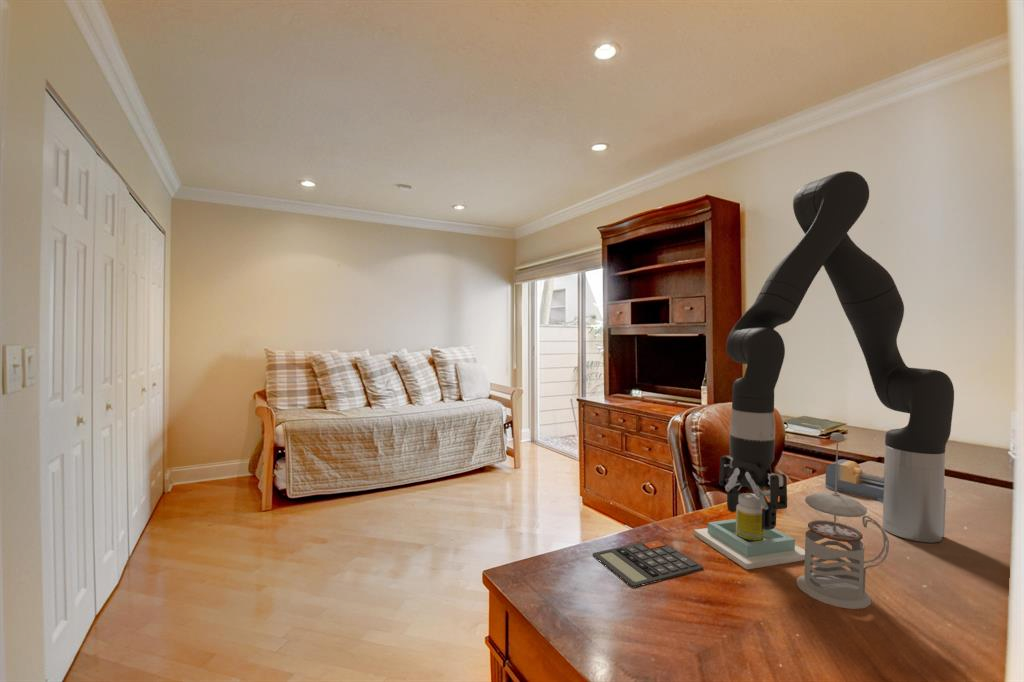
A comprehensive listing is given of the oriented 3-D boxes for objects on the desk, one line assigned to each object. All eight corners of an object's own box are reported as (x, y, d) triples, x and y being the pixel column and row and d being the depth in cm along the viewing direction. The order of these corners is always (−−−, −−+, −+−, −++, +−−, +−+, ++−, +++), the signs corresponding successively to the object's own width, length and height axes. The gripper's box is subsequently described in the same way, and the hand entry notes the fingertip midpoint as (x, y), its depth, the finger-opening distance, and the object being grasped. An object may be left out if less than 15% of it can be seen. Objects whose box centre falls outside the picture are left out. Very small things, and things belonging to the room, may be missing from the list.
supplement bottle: (767, 547, 87) (768, 502, 87) (739, 545, 88) (740, 500, 88) (758, 535, 92) (759, 492, 91) (732, 533, 93) (733, 491, 92)
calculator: (704, 565, 81) (632, 584, 75) (704, 571, 81) (632, 590, 75) (657, 537, 92) (591, 552, 86) (657, 542, 92) (591, 557, 86)
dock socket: (751, 526, 98) (751, 512, 98) (811, 558, 85) (811, 542, 85) (693, 534, 95) (693, 519, 94) (746, 569, 81) (747, 552, 81)
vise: (822, 488, 122) (823, 463, 122) (837, 481, 129) (838, 456, 128) (911, 510, 108) (912, 481, 108) (923, 500, 114) (924, 473, 114)
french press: (793, 568, 82) (797, 423, 81) (876, 585, 77) (882, 430, 76) (800, 598, 73) (804, 435, 72) (895, 619, 68) (901, 444, 67)
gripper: (800, 441, 83) (798, 533, 84) (740, 425, 97) (738, 503, 97) (765, 444, 81) (763, 538, 82) (709, 427, 95) (707, 507, 95)
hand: (749, 519), depth 90 cm, fingers open, 8 cm apart
